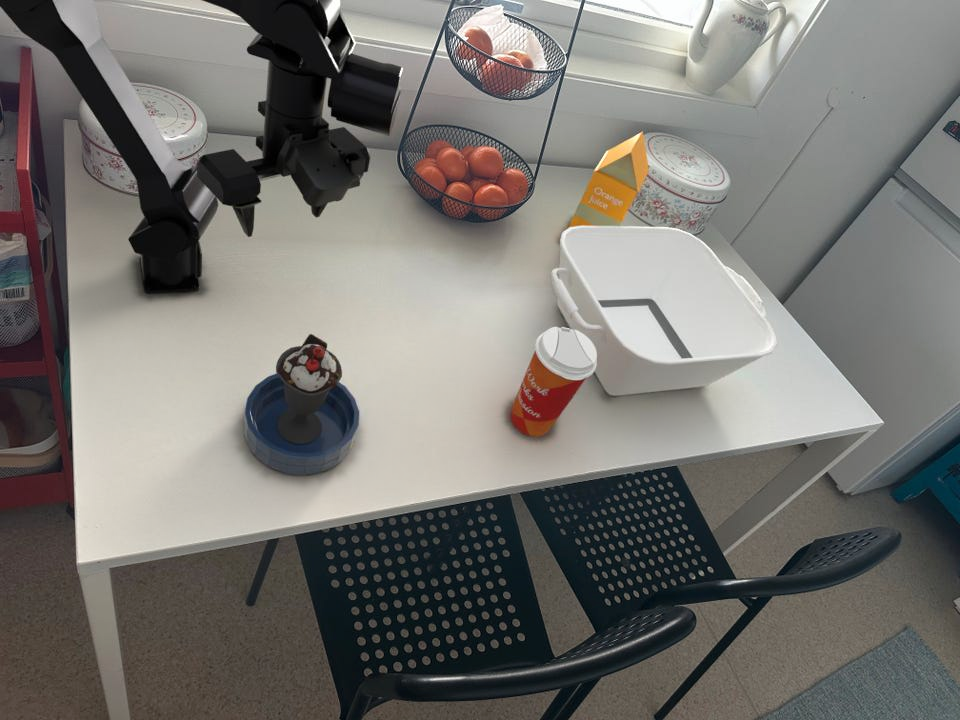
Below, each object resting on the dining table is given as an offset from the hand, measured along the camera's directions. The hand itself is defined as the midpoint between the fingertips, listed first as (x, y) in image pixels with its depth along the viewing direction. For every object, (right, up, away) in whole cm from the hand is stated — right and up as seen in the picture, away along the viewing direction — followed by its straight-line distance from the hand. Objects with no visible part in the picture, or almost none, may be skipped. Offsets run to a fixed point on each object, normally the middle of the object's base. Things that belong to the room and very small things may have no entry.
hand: (282, 224), depth 84 cm
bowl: (+3, -24, -3) cm, 25 cm away
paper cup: (+30, -24, +8) cm, 39 cm away
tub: (+46, -14, +24) cm, 54 cm away
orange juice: (+42, +5, +41) cm, 59 cm away
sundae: (+3, -24, -3) cm, 24 cm away
